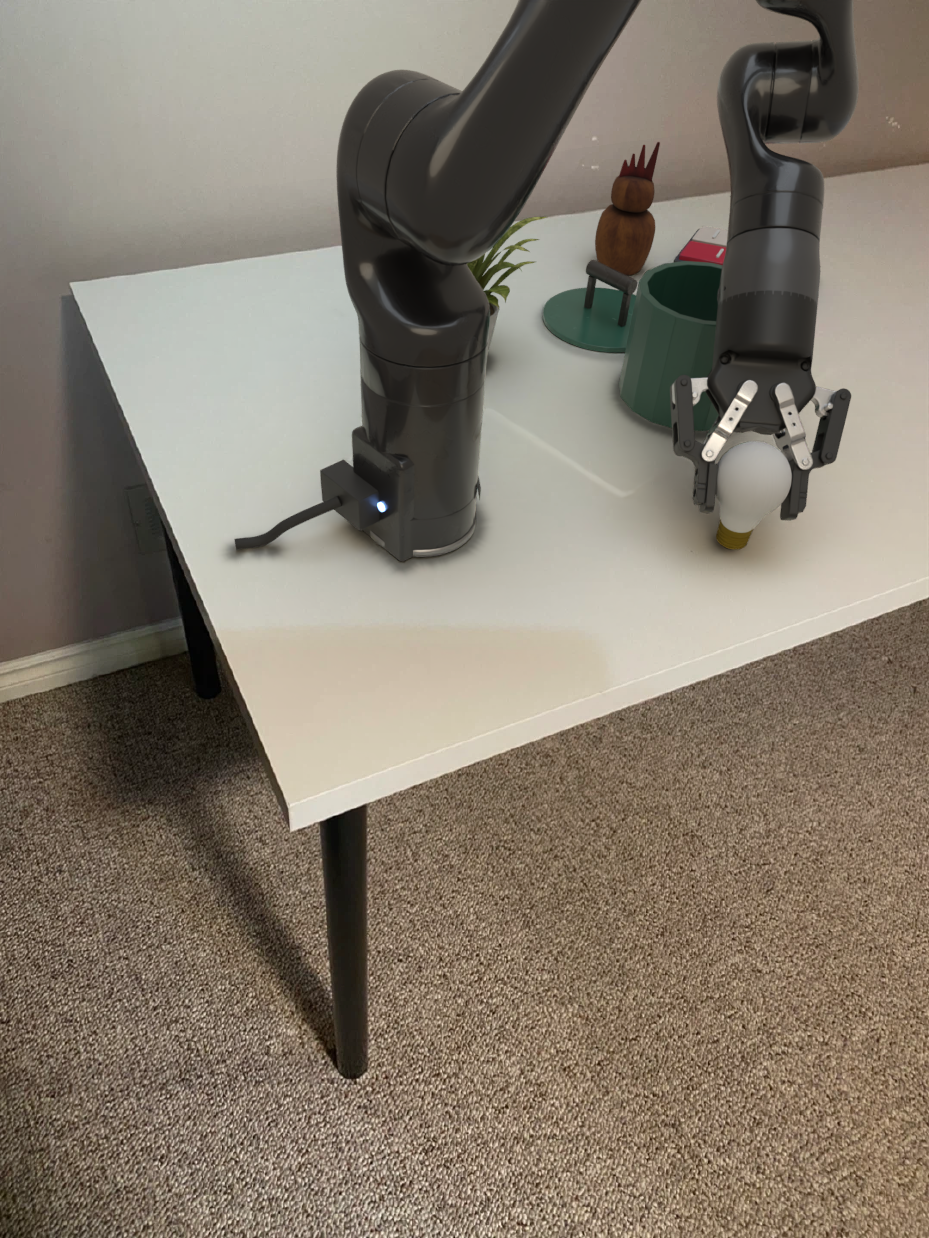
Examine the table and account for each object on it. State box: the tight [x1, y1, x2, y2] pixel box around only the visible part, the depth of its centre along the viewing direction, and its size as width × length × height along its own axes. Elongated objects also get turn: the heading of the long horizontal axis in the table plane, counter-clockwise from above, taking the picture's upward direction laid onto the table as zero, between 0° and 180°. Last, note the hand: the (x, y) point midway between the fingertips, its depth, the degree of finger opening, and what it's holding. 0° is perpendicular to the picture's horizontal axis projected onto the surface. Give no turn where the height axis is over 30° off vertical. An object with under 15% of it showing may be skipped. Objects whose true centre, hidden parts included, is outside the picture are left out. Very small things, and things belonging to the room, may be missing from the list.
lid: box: [542, 259, 638, 354], centre depth 101 cm, size 14×14×6 cm
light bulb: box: [715, 440, 792, 550], centre depth 74 cm, size 6×6×10 cm
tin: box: [618, 261, 723, 432], centre depth 89 cm, size 13×13×12 cm
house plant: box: [467, 216, 547, 357], centre depth 90 cm, size 14×14×16 cm
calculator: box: [673, 225, 728, 265], centre depth 111 cm, size 11×4×15 cm
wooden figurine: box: [594, 141, 661, 276], centre depth 108 cm, size 7×6×15 cm
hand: (747, 515), depth 73 cm, fingers closed on light bulb, 6 cm apart
